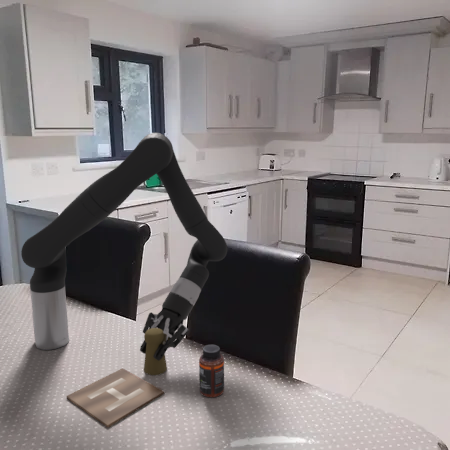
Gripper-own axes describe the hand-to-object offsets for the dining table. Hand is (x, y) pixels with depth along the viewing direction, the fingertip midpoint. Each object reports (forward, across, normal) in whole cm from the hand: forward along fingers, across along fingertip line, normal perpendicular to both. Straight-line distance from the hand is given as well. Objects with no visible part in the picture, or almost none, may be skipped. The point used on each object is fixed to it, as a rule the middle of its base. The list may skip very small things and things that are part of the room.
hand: (149, 355), depth 112 cm
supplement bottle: (+1, +18, +6) cm, 19 cm away
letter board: (+12, +2, -5) cm, 13 cm away
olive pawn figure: (+2, 0, +5) cm, 5 cm away
